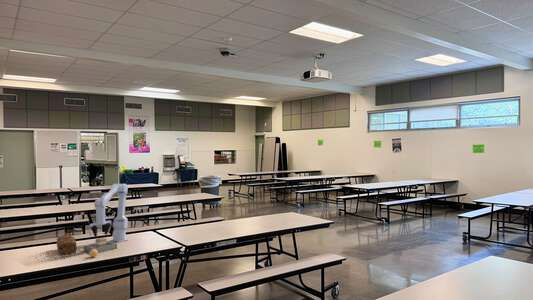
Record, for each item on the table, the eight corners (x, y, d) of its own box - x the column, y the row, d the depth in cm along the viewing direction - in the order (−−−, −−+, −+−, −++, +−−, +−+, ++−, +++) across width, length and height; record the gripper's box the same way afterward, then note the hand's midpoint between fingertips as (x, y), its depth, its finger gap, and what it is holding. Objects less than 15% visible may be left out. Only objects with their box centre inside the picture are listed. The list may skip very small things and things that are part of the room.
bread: (56, 249, 245) (56, 235, 245) (73, 247, 251) (73, 233, 251) (58, 256, 229) (58, 241, 230) (77, 253, 236) (77, 238, 236)
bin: (84, 250, 242) (84, 245, 242) (106, 245, 255) (106, 240, 255) (94, 253, 233) (94, 248, 233) (116, 248, 247) (116, 243, 247)
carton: (95, 249, 243) (95, 239, 243) (102, 247, 248) (102, 237, 248) (99, 250, 240) (99, 240, 240) (106, 248, 245) (106, 238, 245)
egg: (87, 257, 226) (87, 249, 226) (95, 255, 230) (95, 247, 230) (91, 258, 223) (91, 250, 223) (99, 256, 227) (99, 249, 227)
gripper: (93, 218, 236) (93, 238, 236) (113, 215, 248) (113, 234, 248) (88, 217, 240) (88, 236, 240) (108, 214, 252) (108, 232, 252)
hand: (100, 235), depth 244 cm, fingers open, 7 cm apart
